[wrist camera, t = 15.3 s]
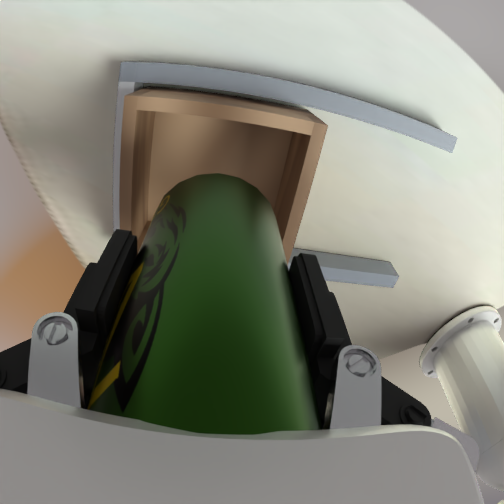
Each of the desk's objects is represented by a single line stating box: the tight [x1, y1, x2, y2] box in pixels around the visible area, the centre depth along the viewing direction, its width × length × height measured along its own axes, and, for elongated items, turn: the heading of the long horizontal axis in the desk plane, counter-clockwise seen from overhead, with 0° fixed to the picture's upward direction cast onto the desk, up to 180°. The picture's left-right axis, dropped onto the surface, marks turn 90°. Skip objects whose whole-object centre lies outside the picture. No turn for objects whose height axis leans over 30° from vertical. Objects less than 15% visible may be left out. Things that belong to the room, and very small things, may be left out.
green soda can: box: [87, 173, 323, 435], centre depth 10 cm, size 5×5×12 cm
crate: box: [119, 86, 328, 266], centre depth 19 cm, size 10×10×5 cm
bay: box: [113, 61, 457, 288], centre depth 21 cm, size 22×13×2 cm, turn 79°
